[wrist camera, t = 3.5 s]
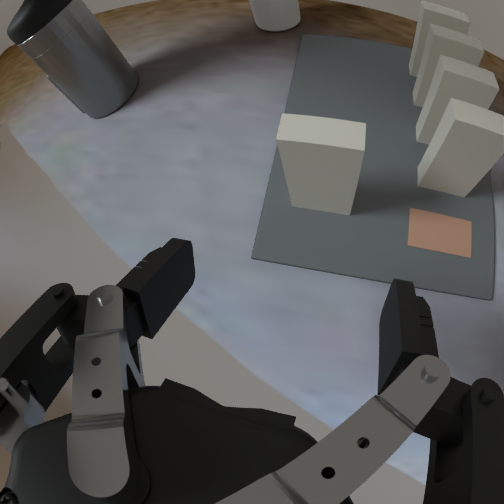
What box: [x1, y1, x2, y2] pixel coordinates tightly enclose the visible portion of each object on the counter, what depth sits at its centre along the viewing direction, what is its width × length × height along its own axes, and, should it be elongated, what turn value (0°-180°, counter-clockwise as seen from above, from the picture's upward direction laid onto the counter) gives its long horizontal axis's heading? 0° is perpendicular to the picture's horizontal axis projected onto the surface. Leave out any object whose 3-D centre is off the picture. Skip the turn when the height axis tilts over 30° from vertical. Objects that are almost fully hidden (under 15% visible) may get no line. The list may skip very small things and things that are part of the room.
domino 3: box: [413, 23, 484, 107], centre depth 21 cm, size 5×2×10 cm, turn 77°
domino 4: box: [416, 54, 499, 145], centre depth 20 cm, size 5×2×10 cm, turn 77°
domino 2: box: [409, 0, 470, 77], centre depth 22 cm, size 5×2×10 cm, turn 77°
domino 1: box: [276, 113, 366, 215], centre depth 21 cm, size 5×2×10 cm, turn 77°
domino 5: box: [418, 98, 504, 197], centre depth 19 cm, size 5×2×10 cm, turn 77°
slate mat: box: [251, 34, 494, 300], centre depth 26 cm, size 22×30×1 cm
